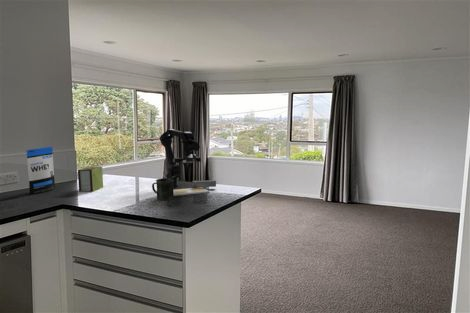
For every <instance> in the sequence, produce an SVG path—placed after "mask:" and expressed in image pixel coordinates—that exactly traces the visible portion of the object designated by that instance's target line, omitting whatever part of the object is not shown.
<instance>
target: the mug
mask: <svg viewBox="0 0 470 313" xmlns="http://www.w3.org/2000/svg"><path fill="white" fill-rule="evenodd" d="M173 181H174V179H170V178H167V177H166V178H163V177H162V178H158V179H155V182H153V183H152V185H151V189H152V191H153V192H154V193H155V194H156V199H157V200H159V201H169V200H173V199H174V197H175V196H174V191H173V190H174V187H173ZM155 185H156V189H155Z"/></svg>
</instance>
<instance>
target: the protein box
mask: <svg viewBox="0 0 470 313" xmlns="http://www.w3.org/2000/svg"><path fill="white" fill-rule="evenodd" d="M103 177H104V175H103V166H90V165H89V166H86V167H82V168H79V169H77V179H78V182H77V183H78V192H80V193H81V192H82V193H83V192H86V193H89V192H90V193H92V192H93V193H94V192H95V191H98V190H100V189H102V188H104V181H103V180H104V178H103Z"/></svg>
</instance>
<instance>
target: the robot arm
mask: <svg viewBox="0 0 470 313" xmlns="http://www.w3.org/2000/svg"><path fill="white" fill-rule="evenodd" d="M174 137H177V138H180V140H181V142H180V143H181V144H182V158H180V157H175V155H174V151H173V147H172V143H173V138H174ZM159 140H160V144H161V145H162V146H163V147H164V150H165V154H166V158H167V162H168V165H169V166H168V169H167V170H168V172H167V174H166V178H170V179H174V181H173V188H175V187H176V188H177V187H179V185H178V178H180V176H181V173H182V172H181V166H180V165H179V163H181V164H182V165H183V167H184V168H185V169H184V170H185V172H187V173H188V172H189V169H190V167H191V165H192V164H193V163H194V161H195V162H198V163H199V162H202V158H201V157H200V156H197V155H196V154H195V153H194V154H192V151H193V152H197V151H199V150H200V148H201V147H200V143H199V142H198V140H196V139H195V137H194V135H193V132H191V131H182V130H178V129H173V128H168V129H167V130H165V131H164V132H163V133H162V134H161V135H160V136H159Z"/></svg>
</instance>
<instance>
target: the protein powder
mask: <svg viewBox="0 0 470 313" xmlns="http://www.w3.org/2000/svg"><path fill="white" fill-rule="evenodd" d="M26 163H27V174H28V187H29V195H30V196H31V195H33V196H34V195H39V194H44V193H49V192H51V191H53V190H55V188H56V184H55V168H54V167H55V166H54V152H53V146H47V147H41V148H32V149H27V150H26Z"/></svg>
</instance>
